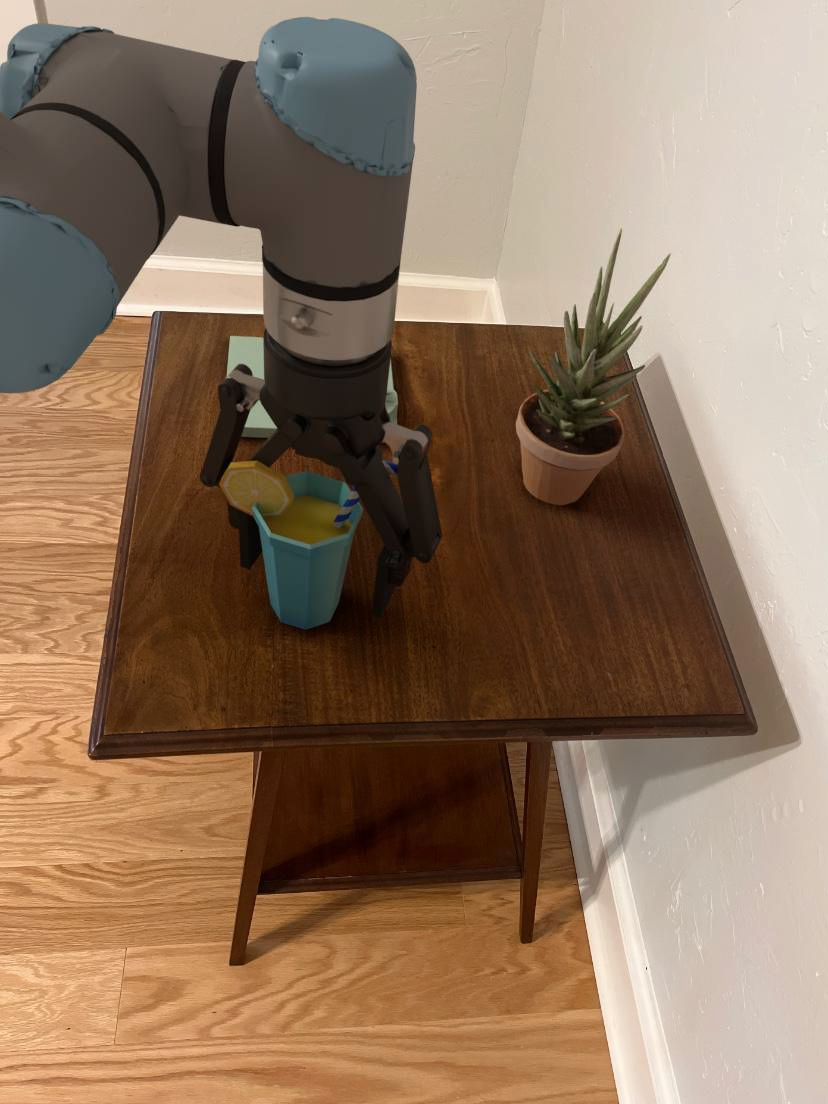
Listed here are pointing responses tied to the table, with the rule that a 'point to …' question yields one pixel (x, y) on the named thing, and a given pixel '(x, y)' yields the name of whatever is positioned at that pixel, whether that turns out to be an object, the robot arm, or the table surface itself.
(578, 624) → the table surface
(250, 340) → the scale
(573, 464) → the potted plant
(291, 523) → the cup
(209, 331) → the table surface
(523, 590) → the table surface
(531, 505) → the table surface
